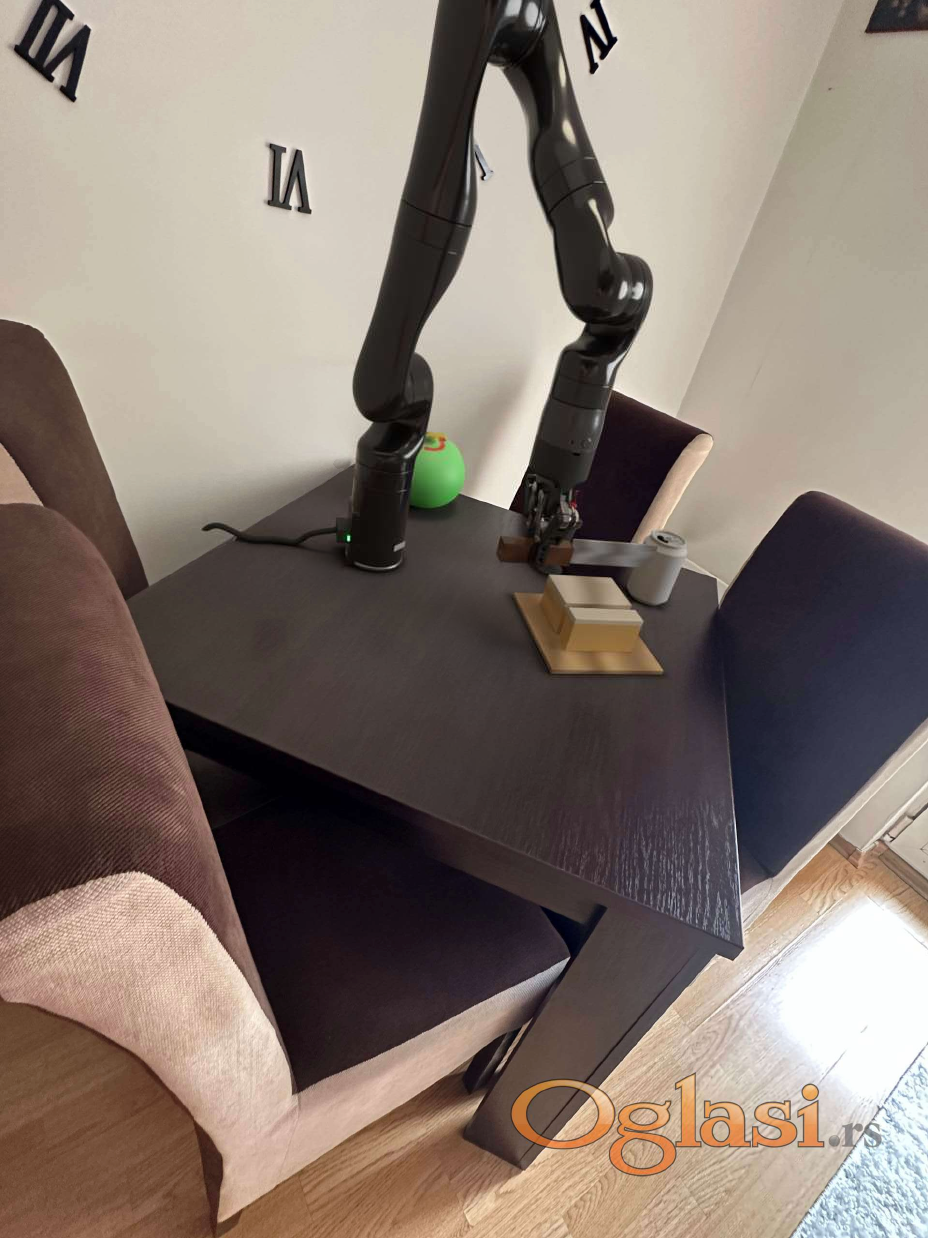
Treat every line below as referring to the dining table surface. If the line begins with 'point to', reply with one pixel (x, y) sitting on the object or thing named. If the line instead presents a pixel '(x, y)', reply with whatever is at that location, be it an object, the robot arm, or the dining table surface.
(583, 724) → the dining table surface
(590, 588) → the wooden stepped base
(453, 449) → the toy bird
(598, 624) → the cake slice
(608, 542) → the knife
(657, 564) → the can
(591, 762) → the dining table surface
